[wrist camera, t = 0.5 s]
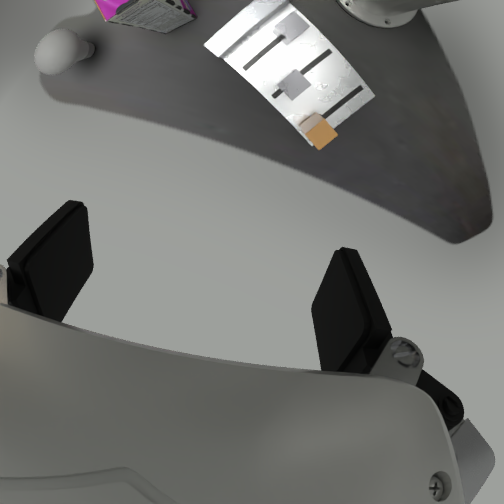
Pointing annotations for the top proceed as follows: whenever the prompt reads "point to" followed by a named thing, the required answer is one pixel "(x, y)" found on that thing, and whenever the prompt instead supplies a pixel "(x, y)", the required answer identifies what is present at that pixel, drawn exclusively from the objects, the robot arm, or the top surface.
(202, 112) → the top surface
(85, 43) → the lightbulb
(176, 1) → the candy bar box
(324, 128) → the cap
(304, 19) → the console
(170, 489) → the robot arm
